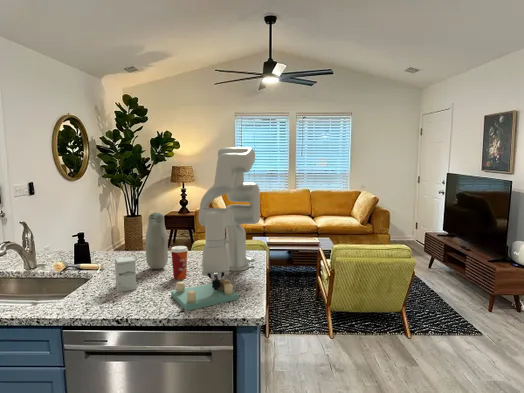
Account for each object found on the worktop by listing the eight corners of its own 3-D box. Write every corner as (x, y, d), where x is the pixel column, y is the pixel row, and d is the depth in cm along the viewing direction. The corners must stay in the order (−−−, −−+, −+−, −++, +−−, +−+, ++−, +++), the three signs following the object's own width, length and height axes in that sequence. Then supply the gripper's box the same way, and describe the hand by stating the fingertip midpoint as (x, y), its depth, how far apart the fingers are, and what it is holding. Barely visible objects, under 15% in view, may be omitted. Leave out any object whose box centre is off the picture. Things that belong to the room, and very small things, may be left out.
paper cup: (184, 280, 163) (183, 249, 162) (168, 279, 164) (167, 249, 163) (191, 275, 171) (190, 245, 169) (175, 274, 172) (175, 245, 171)
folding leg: (212, 283, 152) (211, 274, 151) (217, 282, 153) (217, 273, 153) (223, 291, 143) (223, 281, 142) (229, 290, 144) (229, 280, 143)
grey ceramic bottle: (142, 270, 178) (140, 213, 175) (156, 264, 188) (154, 210, 185) (159, 272, 174) (157, 214, 172) (172, 266, 184) (170, 211, 181)
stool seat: (219, 286, 155) (219, 273, 155) (238, 299, 141) (238, 285, 140) (171, 295, 145) (171, 282, 144) (186, 311, 130) (185, 296, 130)
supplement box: (117, 292, 148) (116, 262, 147) (115, 287, 155) (114, 258, 154) (136, 289, 152) (135, 260, 151) (134, 284, 158) (132, 255, 157)
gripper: (233, 240, 146) (234, 284, 148) (195, 241, 144) (196, 287, 146) (235, 244, 139) (236, 291, 141) (195, 246, 136) (196, 294, 138)
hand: (216, 289), depth 143 cm, fingers closed
